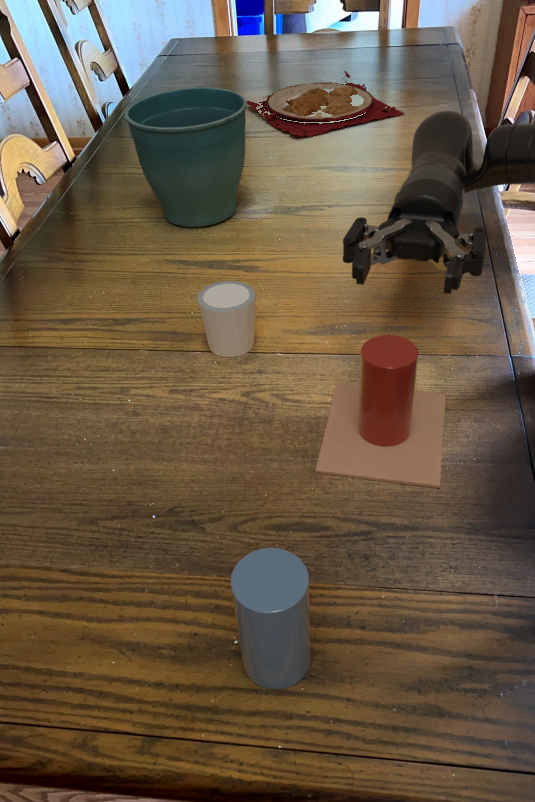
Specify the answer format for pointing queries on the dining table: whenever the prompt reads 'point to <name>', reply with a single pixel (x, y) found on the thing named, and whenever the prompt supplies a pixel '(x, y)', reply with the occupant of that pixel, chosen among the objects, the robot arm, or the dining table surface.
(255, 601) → the grey upright cylinder
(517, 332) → the dining table surface
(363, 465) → the terracotta mat
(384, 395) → the glossy red cylinder
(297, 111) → the plate with food
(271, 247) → the dining table surface
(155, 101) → the flower pot
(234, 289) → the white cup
